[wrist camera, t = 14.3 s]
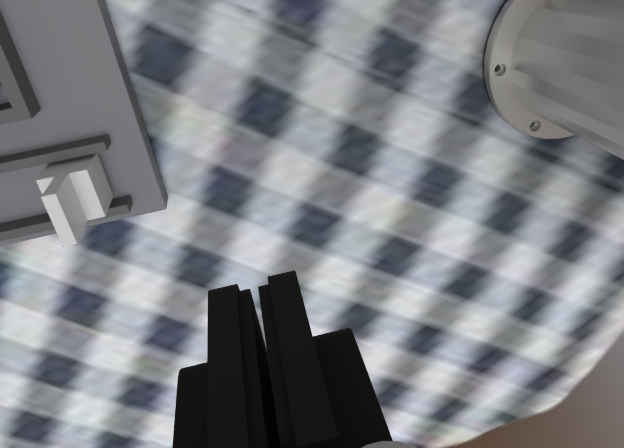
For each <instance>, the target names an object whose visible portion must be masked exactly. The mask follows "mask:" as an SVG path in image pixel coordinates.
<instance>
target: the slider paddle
mask: <svg viewBox="0 0 624 448" xmlns="http://www.w3.org/2000/svg"><path fill="white" fill-rule="evenodd" d="M36 182H37V184H38V186H39V189H40V191H41V193H42V196H41V199H42V201H43V203H44V206H45V208H46V210H47V212H48V214H49V217H50V219H51V221H52V223H53V226H54V228H55V230H56V232H57V234H58V237H59V239H60V241H61V243H62V246H63V247H65V246H69V245H74V244H77V243H78V241H79V239H80V236H81V234H82V232H83V230H84V228H85V225H86V223H87V221H88V220H92V219H97V218H101V217H105V216H106V214H107V211H108V209H109V206H110V204H111V201H112V198H113V193H112V191H111V188H110V185H109V183H108V180H107V177H106V175H105V172H104V170H103V167H102V164H101V162H100V159H99V156H98V154H97V153H95V154H90V155H85V156H81V157H76V158H71V159H66V160H62V161H57V162H52V163H49V164H48V165H47V167H46V168H45V169H44V170H43V172H42V173H41V174H40V176H39V177H38V178H37V180H36Z"/></svg>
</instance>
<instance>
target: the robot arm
mask: <svg viewBox="0 0 624 448" xmlns="http://www.w3.org/2000/svg"><path fill="white" fill-rule="evenodd" d="M496 66H497V69H496V70H495V67H496ZM494 70H495V71H494ZM484 77H485V83H486V90H487V92H488V95H489V98H490V100H491V103H492V105H493V106H494V108H495V109H496V111H497V112H498V114H499V115H500V116H501V117H502V118H503V119H504V120H505V121H506V122H507V123H508V124H509V125H511V126H513V127H514V128H516V129H517V130H519V131H520V132H523V133H525V134H527V135H529V136H532V137H538V138H543V139H561V138H565V137H570V136H574V135H576V136H578V137H580V138H582V139H584V140H586V141H588V142H590V143H592V144H594V145H596V146H598V147H600V148H602V149H603V150H605V151H607V152H609V153H611V154H613V155H615V156H617V157H619V158H621V159H623V160H624V0H508V1H507V2H506V3H505V5H504V6H503V8H502V10H501V12H500V13H499V15H498V17H497V19H496V20H495V22H494V25H493V28H492V30H491V33H490V36H489V38H488V42H487V47H486V52H485V58H484ZM268 282H269V284H268V285H264V286H259V287H258V289H259V296H260V304H261V311H262V318H263V325H264V332H265V339H266V346H265V342H264V339H263V335H262V331H261V328H260V324H259V320H258V316H257V313H256V309H255V305H254V302H253V298H252V294H251V291H250V289H246V290H242V291H240V290H239V287H238V285H237V284H235V285H230V286H226V287H222V288H217V289H213V290H209V291H208V359H207V363H202V364H198V365H194V366H190V367H186V368H182V369H180V371H179V375H178V384H177V397H176V410H175V423H174V436H173V448H416V447H415V446H413V445H409V444H406V443H402V442H399V441H393V440H392V438H391V435H390V432H389V429H388V427H387V424H386V421H385V419H384V416H383V413H382V410H381V408H380V405H379V402H378V400H377V397H376V394H375V391H374V389H373V386H372V383H371V381H370V378H369V375H368V372H367V370H366V367H365V364H364V362H363V359H362V356H361V354H360V351H359V348H358V345H357V343H356V340H355V337H354V335H353V332H352V330H351V328H347V329H342V330H338V331H334V332H330V333H326V334H322V335H318V336H314V337H312V333H311V329H310V325H309V321H308V318H307V314H306V310H305V306H304V302H303V298H302V295H301V291H300V287H299V283H298V279H297V275H296V272H295V271H290V272H286V273H282V274H277V275H273V276H269V277H268ZM266 347H267V350H266Z"/></svg>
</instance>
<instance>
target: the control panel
mask: <svg viewBox="0 0 624 448" xmlns="http://www.w3.org/2000/svg"><path fill="white" fill-rule="evenodd" d="M0 81H1V82H0V246H2V245H7V244H11V243H16V242H20V241H25V240H29V239H34V238H38V237H43V236H47V235H52V234H56V233H57V232H56V230H55V228H54V226H53V223H52V221H51V219H50V217H49V214H48V212H47V210H46V208H45V206H44V203H43V201H42V199H41V196H42V193H41V191H40V189H39V186H38V184H37V182H36V180H37V178H38V177H39V176H40V174H41V173H42V172H43V170H44V169H45V168H46V167H47V165H48V164H49V163H52V162H57V161H62V160H66V159H71V158H76V157H81V156H85V155H90V154H95V153H97V154H98V156H99V159H100V162H101V164H102V167H103V170H104V172H105V175H106V177H107V180H108V183H109V185H110V188H111V191H112V193H113V198H112V201H111V204H110V206H109V209H108V211H107V214H106V216H105V217H101V218H97V219H92V220H88V221H87V223H86V225H85V227H88V226H92V225H97V224H101V223H106V222H110V221H115V220H119V219H124V218H128V217H133V216H137V215H142V214H146V213H151V212H155V211H160V210H164V209H166V207H167V201H168V195H167V192H166V189H165V186H164V183H163V180H162V177H161V174H160V171H159V168H158V165H157V162H156V159H155V156H154V152H153V149H152V146H151V143H150V140H149V137H148V134H147V131H146V128H145V125H144V122H143V119H142V116H141V113H140V109H139V106H138V103H137V100H136V97H135V94H134V91H133V88H132V85H131V82H130V79H129V76H128V73H127V70H126V66H125V63H124V60H123V57H122V54H121V51H120V48H119V45H118V42H117V39H116V36H115V33H114V30H113V27H112V23H111V20H110V17H109V14H108V11H107V8H106V5H105V2H104V0H0Z"/></svg>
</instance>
